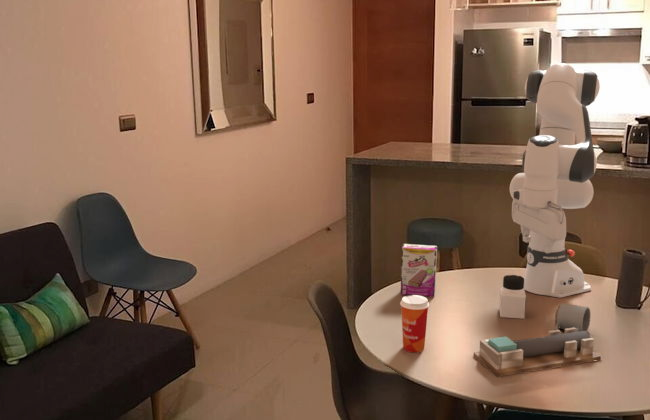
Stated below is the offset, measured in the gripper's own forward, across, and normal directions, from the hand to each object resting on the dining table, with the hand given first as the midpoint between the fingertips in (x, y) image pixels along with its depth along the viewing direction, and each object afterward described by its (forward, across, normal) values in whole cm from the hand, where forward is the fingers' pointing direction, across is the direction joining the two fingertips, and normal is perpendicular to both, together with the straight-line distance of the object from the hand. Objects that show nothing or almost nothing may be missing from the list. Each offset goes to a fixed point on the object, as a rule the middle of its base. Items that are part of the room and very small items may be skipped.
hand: (536, 246), depth 182 cm
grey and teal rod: (+24, -13, +6) cm, 28 cm away
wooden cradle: (+25, -13, +7) cm, 29 cm away
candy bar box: (+27, +39, +17) cm, 50 cm away
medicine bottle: (+27, +15, -3) cm, 31 cm away
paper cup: (+25, +2, +35) cm, 43 cm away
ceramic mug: (+27, -2, -12) cm, 29 cm away
